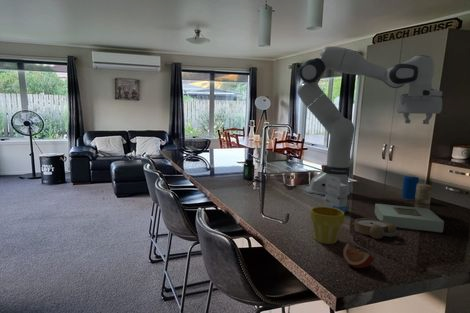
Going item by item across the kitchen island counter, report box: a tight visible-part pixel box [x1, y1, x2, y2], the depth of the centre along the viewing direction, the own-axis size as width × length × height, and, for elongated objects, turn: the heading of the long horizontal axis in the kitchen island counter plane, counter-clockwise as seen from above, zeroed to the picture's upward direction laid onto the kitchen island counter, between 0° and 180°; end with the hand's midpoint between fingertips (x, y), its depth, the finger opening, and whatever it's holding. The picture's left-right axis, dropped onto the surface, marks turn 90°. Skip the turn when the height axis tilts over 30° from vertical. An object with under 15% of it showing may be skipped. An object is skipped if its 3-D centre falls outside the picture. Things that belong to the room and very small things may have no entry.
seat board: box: [374, 203, 445, 233], centre depth 120 cm, size 20×16×4 cm
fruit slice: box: [342, 242, 375, 269], centre depth 84 cm, size 8×7×5 cm
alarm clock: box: [351, 217, 398, 240], centre depth 108 cm, size 11×5×15 cm
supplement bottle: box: [242, 158, 256, 181], centre depth 189 cm, size 7×7×12 cm
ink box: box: [324, 175, 349, 213], centre depth 132 cm, size 8×5×15 cm, turn 26°
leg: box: [413, 183, 433, 210], centre depth 133 cm, size 5×5×12 cm
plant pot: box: [310, 206, 345, 245], centre depth 100 cm, size 10×10×10 cm
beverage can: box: [401, 174, 420, 202], centre depth 154 cm, size 6×6×12 cm
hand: (416, 123), depth 141 cm, fingers open, 8 cm apart
